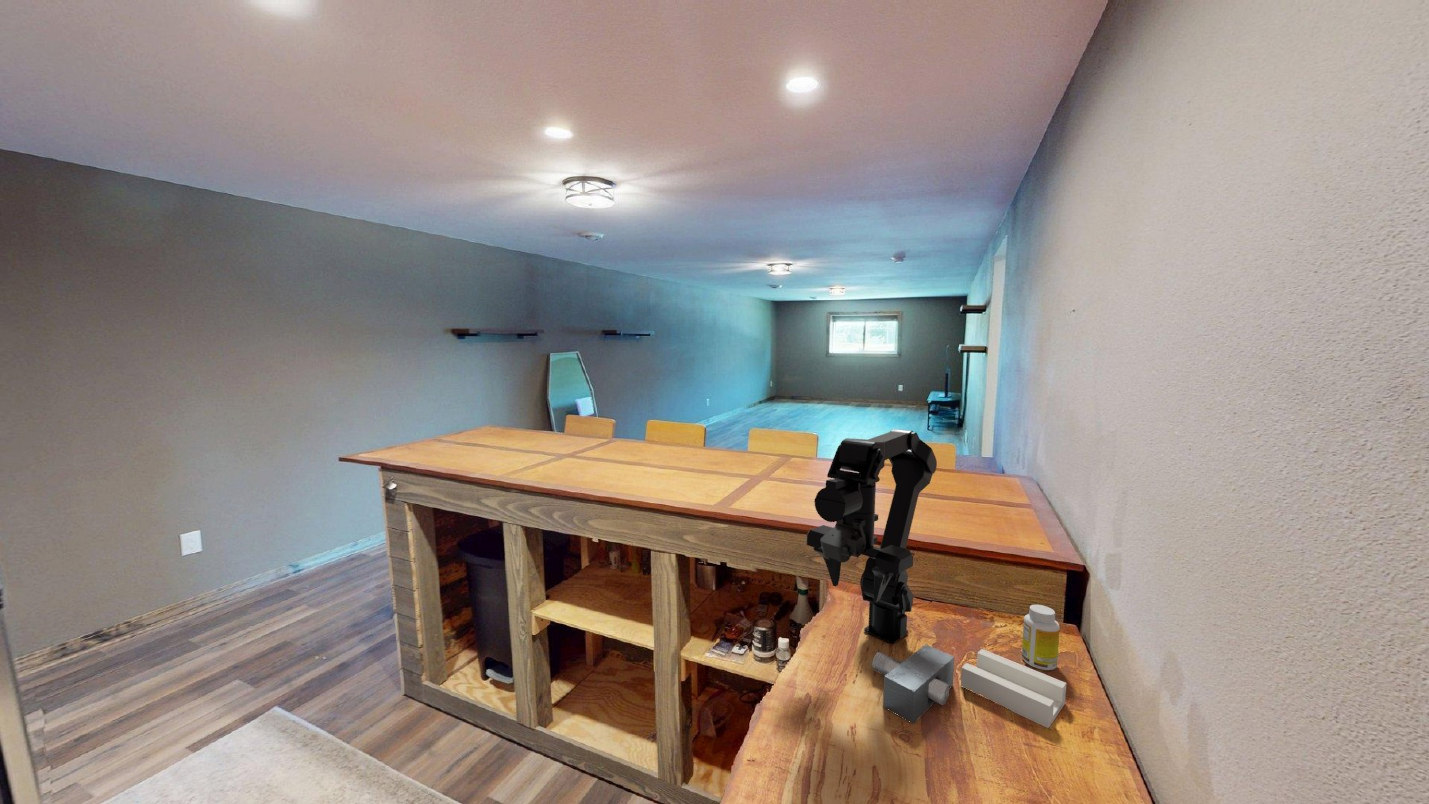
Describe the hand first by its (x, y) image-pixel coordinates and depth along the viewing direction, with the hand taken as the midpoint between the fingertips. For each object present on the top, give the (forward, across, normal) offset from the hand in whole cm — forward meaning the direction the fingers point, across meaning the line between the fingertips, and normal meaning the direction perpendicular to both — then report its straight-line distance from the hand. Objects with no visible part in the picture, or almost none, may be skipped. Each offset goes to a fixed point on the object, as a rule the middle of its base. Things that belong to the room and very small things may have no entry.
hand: (855, 593), depth 93 cm
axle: (+11, +11, 0) cm, 15 cm away
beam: (+13, +13, 0) cm, 18 cm away
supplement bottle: (+13, +23, +26) cm, 37 cm away
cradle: (+13, +23, +12) cm, 29 cm away
